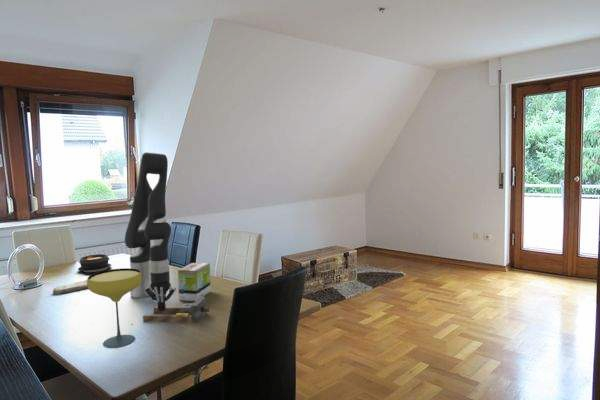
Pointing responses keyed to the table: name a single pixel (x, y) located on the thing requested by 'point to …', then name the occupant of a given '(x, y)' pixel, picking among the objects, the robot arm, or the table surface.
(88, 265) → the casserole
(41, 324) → the table surface
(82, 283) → the elongated rock
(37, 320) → the table surface
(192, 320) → the guide channel
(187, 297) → the tea box
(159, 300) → the robot arm
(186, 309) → the dice cube
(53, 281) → the table surface
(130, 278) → the cocktail glass
